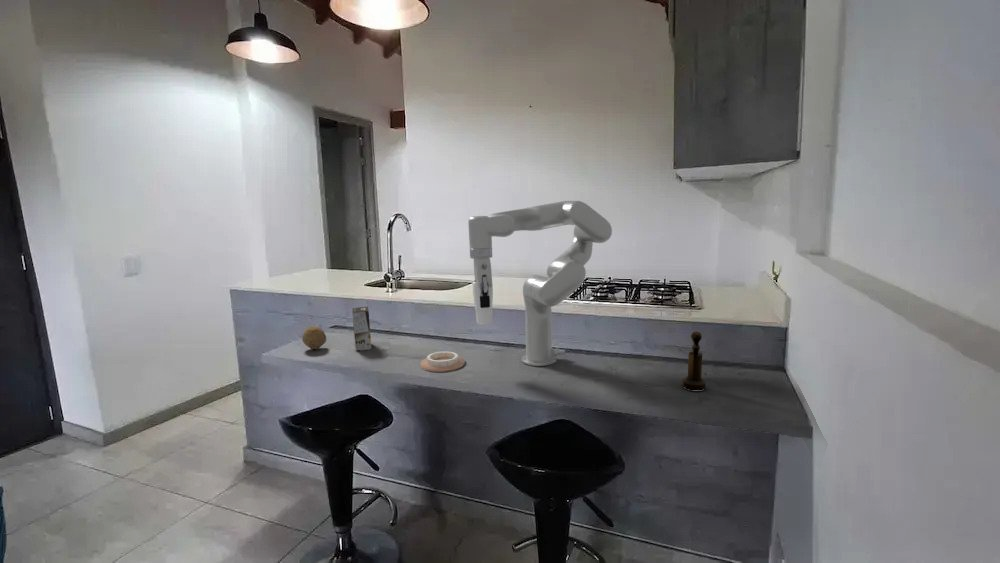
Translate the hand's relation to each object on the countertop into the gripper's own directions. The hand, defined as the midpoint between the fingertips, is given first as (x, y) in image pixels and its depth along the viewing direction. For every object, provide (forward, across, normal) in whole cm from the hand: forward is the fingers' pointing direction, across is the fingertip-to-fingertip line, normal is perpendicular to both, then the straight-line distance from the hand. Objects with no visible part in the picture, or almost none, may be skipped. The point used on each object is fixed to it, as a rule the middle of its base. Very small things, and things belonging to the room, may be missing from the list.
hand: (483, 304), depth 165 cm
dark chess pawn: (+25, -31, -60) cm, 72 cm away
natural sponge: (+23, +41, +65) cm, 80 cm away
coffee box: (+23, +39, +46) cm, 64 cm away
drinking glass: (+7, 0, 0) cm, 7 cm away
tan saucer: (+23, +10, +15) cm, 29 cm away
